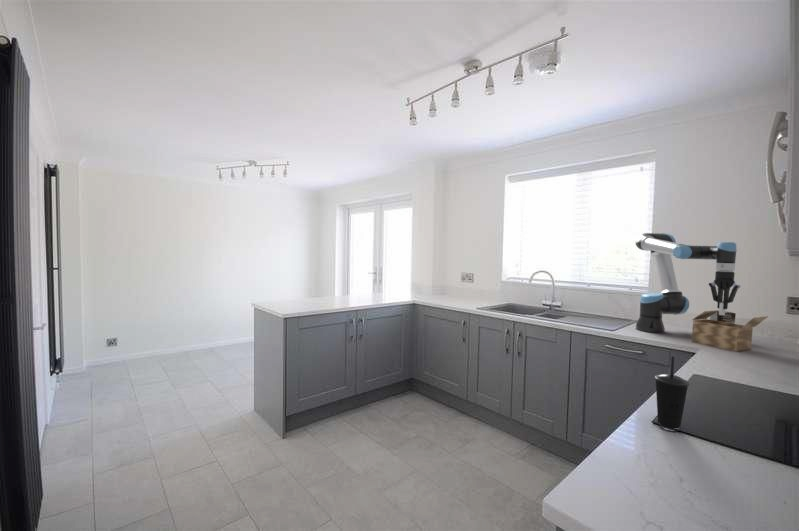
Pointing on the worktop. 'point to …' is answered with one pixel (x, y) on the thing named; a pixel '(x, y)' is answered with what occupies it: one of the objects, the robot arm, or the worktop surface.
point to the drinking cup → (670, 398)
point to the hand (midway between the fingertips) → (721, 314)
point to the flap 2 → (754, 322)
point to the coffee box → (724, 317)
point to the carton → (722, 335)
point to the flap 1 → (705, 315)
